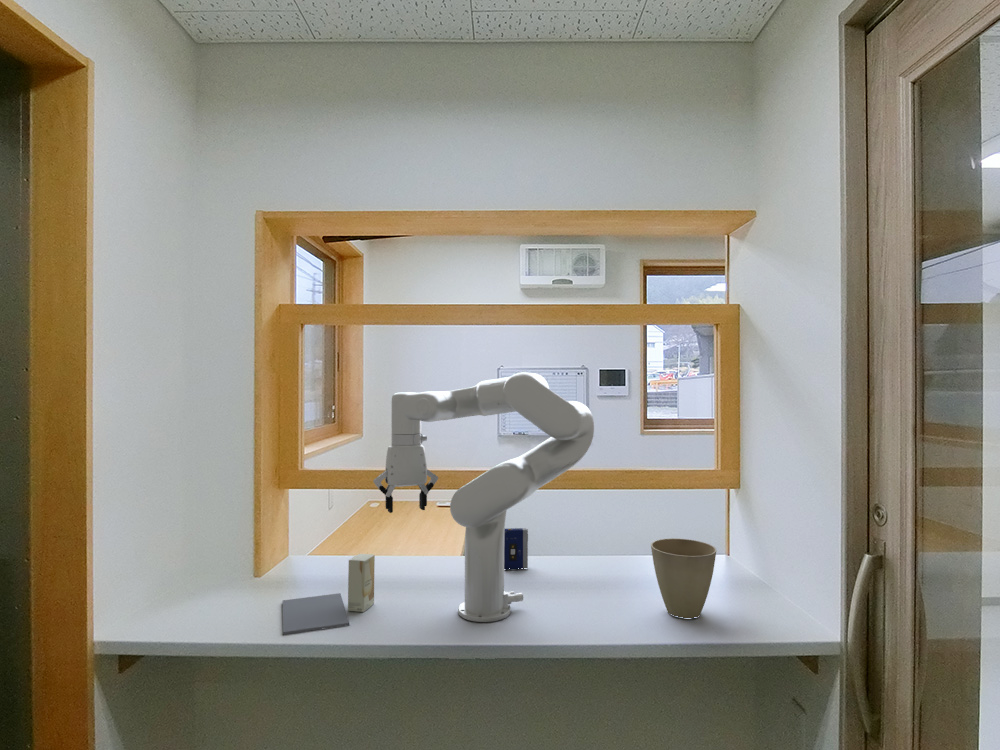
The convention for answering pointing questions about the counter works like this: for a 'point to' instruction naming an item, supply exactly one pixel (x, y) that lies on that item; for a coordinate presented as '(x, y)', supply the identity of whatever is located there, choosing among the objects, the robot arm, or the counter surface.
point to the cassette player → (516, 548)
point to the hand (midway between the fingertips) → (406, 510)
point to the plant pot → (683, 574)
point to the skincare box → (361, 582)
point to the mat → (313, 613)
